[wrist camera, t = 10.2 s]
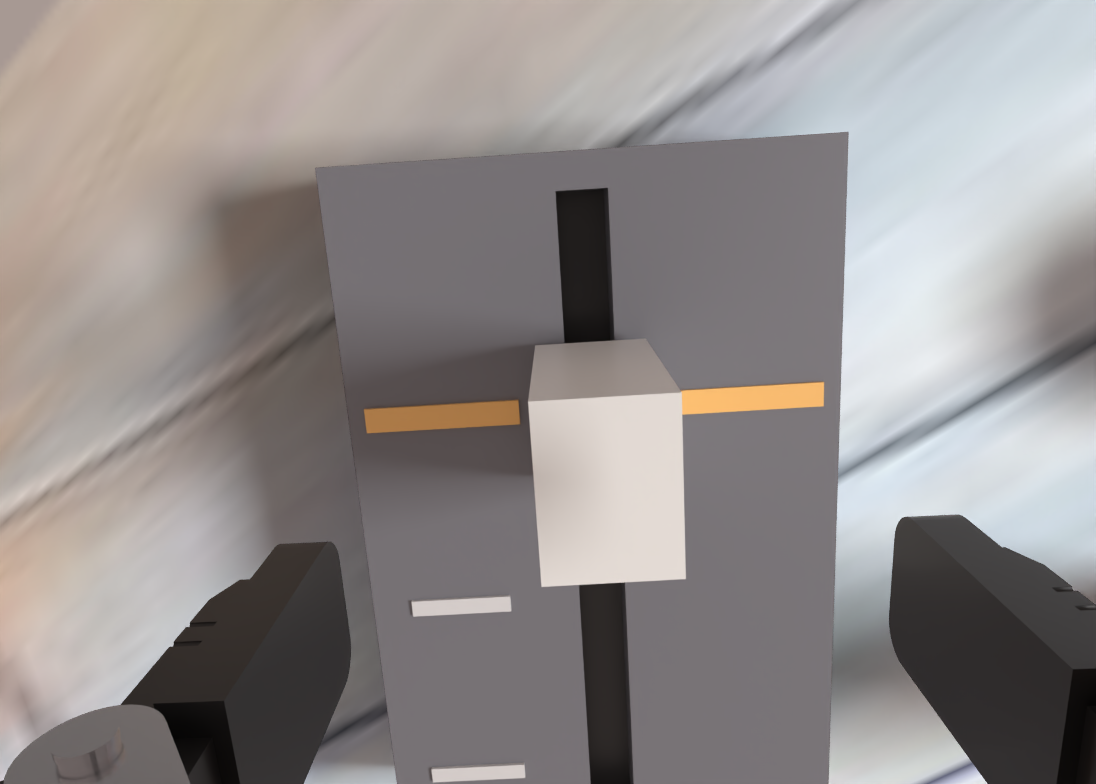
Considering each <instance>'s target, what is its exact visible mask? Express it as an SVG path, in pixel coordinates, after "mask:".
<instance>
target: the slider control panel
mask: <svg viewBox="0 0 1096 784" xmlns="http://www.w3.org/2000/svg"><path fill="white" fill-rule="evenodd" d="M847 164H848V132H840V133H825V134H810V135H796V136H781V137H766V138H751V139H736V140H721V141H706V142H692V143H677V144H662V145H647V146H632V147H617V148H603V149H588V150H573V151H558V152H543V153H528V154H513V155H499V156H484V157H469V158H454V159H439V160H424V161H409V162H395V163H380V164H365V165H350V166H335V167H320V168H315V170H316V178H317V185H318V193H319V200H320V208H321V215H322V223H323V230H324V238H325V245H326V253H327V260H328V268H329V275H330V283H331V291H332V298H333V306H334V313H335V321H336V328H337V336H338V343H339V351H340V358H341V366H342V373H343V381H344V388H345V396H346V403H347V411H348V418H349V426H350V433H351V441H352V448H353V456H354V463H355V471H356V479H357V486H358V494H359V501H360V509H361V516H362V524H363V531H364V539H365V546H366V554H367V561H368V569H369V576H370V584H371V591H372V599H373V606H374V614H375V621H376V629H377V636H378V644H379V651H380V659H381V667H382V674H383V682H384V689H385V697H386V704H387V712H388V719H389V727H390V734H391V742H392V749H393V757H394V764H395V772H396V779H397V784H828V779H829V747H830V715H831V682H832V650H833V618H834V585H835V553H836V520H837V488H838V456H839V423H840V391H841V358H842V326H843V294H844V261H845V229H846V197H847ZM630 339H646V340H647V342H648V343H649V344H650V346H651V347H652V349H653V350H654V352H655V353H656V355H657V356H658V358H659V359H660V361H661V362H662V364H663V365H664V367H665V368H666V370H667V371H668V373H669V374H670V376H671V377H672V379H673V380H674V382H675V383H676V385H677V386H678V388H679V389H680V391H681V392H682V425H683V471H684V517H685V564H686V579H678V580H660V581H642V582H623V583H605V584H587V585H568V586H550V587H541V573H540V559H539V545H538V531H537V518H536V504H535V490H534V476H533V463H532V449H531V435H530V421H529V408H528V398H529V390H530V383H531V375H532V367H533V359H534V351H535V345H549V344H565V343H581V342H597V341H613V340H630Z"/></svg>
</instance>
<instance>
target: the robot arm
mask: <svg viewBox="0 0 1096 784" xmlns="http://www.w3.org/2000/svg"><path fill="white" fill-rule="evenodd" d="M889 627H890V634H891V639H892V643H893V647H894V650H895V652H896V655H897V657H898V659H899V661H900V663H901V664H902V666H903V667H904V669H905V670H906V671H907V673H908V674H909V676H910V677H911V678H912V680H913V681H914V683H915V684H916V685H917V687H918V688H919V689H920V691H921V692H922V694H923V695H924V696H925V698H926V699H927V700H928V702H929V703H930V705H931V706H932V707H933V709H934V710H935V712H936V713H937V714H938V716H939V717H940V718H941V720H942V721H943V723H944V724H945V725H946V727H947V728H948V730H949V731H950V732H951V734H952V735H953V736H954V738H955V739H956V741H957V742H958V743H959V745H960V746H961V748H962V749H963V750H964V752H965V753H966V754H967V756H968V757H969V759H970V760H971V761H972V763H973V764H974V766H975V767H976V768H977V770H978V771H979V772H980V774H981V775H982V777H983V778H984V779H985V781H986V782H987V783H988V784H1096V605H1095V604H1094V603H1093V602H1091V601H1090V600H1089V599H1087V598H1086V597H1085V596H1084V595H1082V594H1081V593H1080V592H1078V591H1073V590H1072V586H1071V585H1069V584H1068V583H1067V582H1065V581H1064V580H1063V579H1062V578H1060V577H1059V576H1058V575H1056V574H1055V573H1054V572H1053V571H1051V570H1050V569H1049V568H1047V567H1046V566H1045V565H1043V564H1041V563H1039V562H1036V561H1034V560H1032V559H1030V558H1027V557H1025V556H1023V555H1021V554H1019V553H1016V552H1014V551H1012V550H1010V549H1008V548H1005V547H1004V548H1002V547H1001V546H1000V545H998V544H997V543H996V542H995V541H993V540H992V539H991V538H990V537H988V536H987V535H986V534H985V533H983V532H982V531H981V530H980V529H978V528H977V527H976V526H975V525H974V524H972V523H971V522H970V521H969V520H967V519H966V518H965V517H963V516H961V515H939V516H917V517H904V518H902V519H901V520H900V521H899V523H898V525H897V527H896V531H895V539H894V553H893V568H892V582H891V596H890V610H889ZM350 658H351V642H350V633H349V626H348V619H347V611H346V604H345V597H344V590H343V583H342V575H341V568H340V561H339V556H338V552H337V549H336V547H335V545H334V544H333V543H332V542H316V543H294V544H279V545H277V546H276V547H275V548H274V550H273V551H272V552H271V553H270V555H269V556H268V557H267V559H266V560H265V561H264V562H263V564H262V565H261V566H260V567H259V569H258V570H257V571H256V573H255V574H254V575H253V576H252V578H251V579H248V580H239V581H237V582H236V583H234V584H233V585H231V586H230V587H228V588H227V589H225V590H224V591H222V592H220V593H219V594H217V595H216V596H214V597H213V598H211V599H210V600H209V601H208V602H207V603H206V604H205V605H204V607H203V608H202V609H201V610H200V611H199V612H198V614H197V615H196V616H195V617H194V618H193V620H192V621H191V622H190V627H186V628H185V629H184V630H183V631H182V633H181V634H180V635H179V636H178V637H177V639H176V640H175V641H174V646H173V647H169V648H168V649H167V650H166V652H165V653H164V654H163V655H162V656H161V657H160V659H159V660H158V661H157V662H156V663H155V665H154V666H153V667H152V668H151V669H150V671H149V672H148V673H147V674H146V675H145V676H144V678H143V679H142V680H141V681H140V682H139V684H138V685H137V686H136V687H135V688H134V689H133V691H132V692H131V693H130V694H129V695H128V697H127V698H126V699H125V700H124V701H123V703H122V704H121V705H118V706H112V707H106V708H102V709H98V710H94V711H91V712H88V713H85V714H82V715H80V716H77V717H75V718H73V719H70V720H68V721H66V722H64V723H62V724H60V725H58V726H56V727H54V728H53V729H51V730H49V731H48V732H46V733H45V734H43V735H42V736H40V737H39V738H37V739H36V740H35V741H33V742H32V743H31V744H30V745H29V746H27V747H26V748H25V749H24V750H23V751H22V752H21V753H20V754H19V755H18V756H17V757H16V759H15V760H14V761H13V762H12V764H11V765H10V767H9V768H8V770H7V773H6V775H5V778H4V780H3V781H0V784H304V781H305V779H306V777H307V774H308V772H309V770H310V767H311V765H312V763H313V760H314V758H315V755H316V753H317V751H318V748H319V746H320V744H321V741H322V739H323V737H324V734H325V732H326V730H327V727H328V725H329V723H330V720H331V718H332V715H333V713H334V711H335V708H336V706H337V704H338V701H339V699H340V697H341V694H342V692H343V690H344V687H345V685H346V682H347V678H348V674H349V668H350Z"/></svg>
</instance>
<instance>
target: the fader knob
mask: <svg viewBox="0 0 1096 784" xmlns="http://www.w3.org/2000/svg"><path fill="white" fill-rule="evenodd" d="M528 408H529V421H530V435H531V449H532V463H533V476H534V490H535V504H536V518H537V531H538V545H539V559H540V573H541V587H550V586H568V585H587V584H605V583H623V582H642V581H660V580H678V579H686V564H685V517H684V471H683V425H682V392H681V391H680V389H679V388H678V386H677V385H676V383H675V382H674V380H673V379H672V377H671V376H670V374H669V373H668V371H667V370H666V368H665V367H664V365H663V364H662V362H661V361H660V359H659V358H658V356H657V355H656V353H655V352H654V350H653V349H652V347H651V346H650V344H649V343H648V342H647V340H646V339H630V340H613V341H597V342H581V343H565V344H549V345H535V351H534V359H533V367H532V375H531V383H530V390H529V398H528Z"/></svg>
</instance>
